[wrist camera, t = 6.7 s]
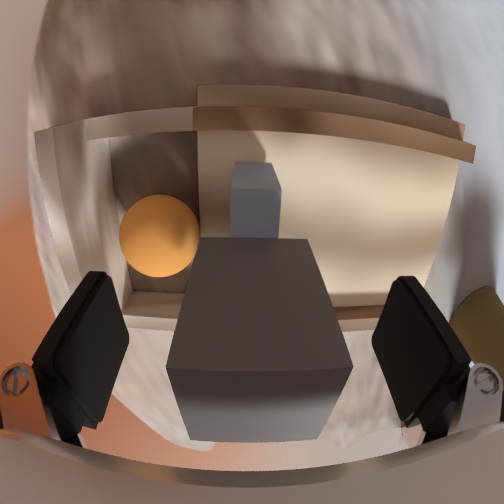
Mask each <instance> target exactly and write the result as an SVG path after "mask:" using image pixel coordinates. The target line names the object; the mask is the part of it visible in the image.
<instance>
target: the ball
mask: <svg viewBox="0 0 504 504" xmlns="http://www.w3.org/2000/svg"><path fill="white" fill-rule="evenodd" d="M199 240H200V232H199V225H198V222H197V219H196V217H195V215H194V213H193V212H192V211H191V209H190V208H189V207H188V206H187V205H186V204H185V203H183V202H182V201H181V200H179V199H177V198H175V197H172V196H168V195H151V196H148V197H145V198H143V199H141V200H139V201H137V202H136V203H135V204H133V205H132V206H131V207H130V209H129V210H128V211H127V212H126V214H125V216H124V217H123V220H122V222H121V226H120V231H119V242H120V247H121V250H122V253H123V255H124V257H125V258H126V260H127V261H128V263H129V264H130V265H131V266H132V267H133V268H134V269H136V270H137V271H139V272H140V273H142V274H145V275H148V276H152V277H166V276H171V275H173V274H176V273H178V272H179V271H181V270H183V269H184V268H185V267H186V266H187V265H188V264H189V263H190V262H191V260H192V259H193V258H194V256H195V254H196V251H197V247H198V244H199Z"/></svg>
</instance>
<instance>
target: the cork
mask: <svg viewBox="0 0 504 504" xmlns="http://www.w3.org/2000/svg"><path fill="white" fill-rule="evenodd" d="M449 324H450V326H451V328H452V329H453V331H454V332H455V334H456V335H457V337H458V338H459V340H460V341H461V343H462V345H463V346H464V348H465V349H466V351H467V353H468V354H469V356H470V358H471V359H472V361H473V363H474V364H475V365H476V364H478V363H483V364H487V365H489V366H491V367H493V368H494V369H495V370H496V371H497V372H498V374H499V375H500V377H501V380H502V384H503V391H504V305H503V303H502V302H501V300H500V299H499V297H498V295H497V294H496V292H495V291H494V289H493V288H491V287H483V288H480V289H478V290H477V291H475V292H473V293H472V294H471V295H469V296H468V297H467V298H466V299H465V300H464V301H463V302H462V303H461V304H460V305H459V307H458V308H457V309H456V311H455V312H454V314H453V316H452V318H451V320H450V322H449Z"/></svg>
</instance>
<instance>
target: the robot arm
mask: <svg viewBox="0 0 504 504" xmlns="http://www.w3.org/2000/svg"><path fill="white" fill-rule="evenodd" d="M128 344H129V333H128V330H127V327H126V324H125V321H124V318H123V315H122V312H121V308H120V305H119V302H118V298H117V295H116V291H115V288H114V284H113V280H112V278H111V277H110V276H108V275H107V273H106V272H104V271H89V272H88V273H87V274H86V275H85V277H84V278H83V280H82V281H81V282H80V284H79V285H78V287H77V288H76V289H75V291H74V292H73V294H72V295H71V297H70V298H69V300H68V301H67V303H66V304H65V306H64V307H63V309H62V310H61V312H60V313H59V315H58V316H57V318H56V319H55V321H54V323H53V324H52V326H51V327H50V329H49V331H48V332H47V334H46V335H45V337H44V339H43V341H42V342H41V344H40V345H39V347H38V349H37V351H36V352H35V354H34V356H33V358H32V361H33V362H34V363H33V365H32V366H30V365H29V364H26V363H24V362H23V363H22V362H17V363H14V364H11V365H10V366H8V367H7V368H6V369H5V370H4V371H3V372H2V374H1V375H0V504H504V391H503V384H502V380H501V377H500V375H499V374H498V372H497V371H496V370H495V369H494V368H493V367H491V366H489V365H487V364H483V363H478V364H476V365H474V366H473V367H472V368H471V369H470V367H469V364H470V362H471V361H472V359H471V358H470V356H469V354H468V353H467V351H466V349H465V348H464V346H463V345H462V343H461V341H460V340H459V338H458V337H457V335H456V334H455V332H454V331H453V329H452V328H451V326H450V324H449V323H448V322H447V320H446V319H445V317H444V316H443V314H442V313H441V311H440V310H439V308H438V307H437V306H436V304H435V303H434V301H433V300H432V298H431V297H430V296H429V294H428V293H427V292H426V290H425V289H424V288H423V286H422V285H421V284H420V282H419V281H418V280H417V278H416V277H415V276H399V277H398V278H397V279H396V280H394V281H393V282H392V285H391V288H390V291H389V293H388V296H387V299H386V302H385V305H384V307H383V310H382V313H381V315H380V318H379V321H378V323H377V326H376V328H375V331H374V333H373V336H372V346H373V349H374V351H375V354H376V356H377V359H378V361H379V364H380V367H381V369H382V372H383V374H384V377H385V380H386V382H387V385H388V387H389V390H390V393H391V396H392V398H393V401H394V404H395V407H396V410H397V412H398V415H399V418H400V420H401V421H404V423H405V426H406V428H410V427H413V426H417V425H419V424H420V423H421V426H422V431H421V434H420V436H419V439H418V441H417V444H416V446H415V447H412V448H409V449H405V450H402V451H398V452H394V453H391V454H387V455H383V456H378V457H374V458H369V459H364V460H360V461H355V462H349V463H343V464H337V465H330V466H323V467H316V468H306V469H296V470H295V469H294V470H280V471H244V472H243V471H214V470H201V469H189V468H180V467H172V466H165V465H158V464H152V463H146V462H140V461H135V460H130V459H126V458H121V457H117V456H113V455H109V454H104V453H100V452H96V451H93V450H89V449H88V448H87V446H86V444H85V442H84V440H83V437H82V435H81V433H80V432H81V429H82V426H85V427H89V428H92V429H96V427H97V424H98V422H101V421H102V420H103V418H104V415H105V411H106V407H107V405H108V402H109V398H110V396H111V393H112V389H113V387H114V384H115V381H116V378H117V375H118V372H119V369H120V366H121V363H122V361H123V358H124V355H125V352H126V350H127V347H128Z"/></svg>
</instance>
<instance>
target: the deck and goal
mask: <svg viewBox="0 0 504 504" xmlns="http://www.w3.org/2000/svg"><path fill="white" fill-rule="evenodd" d="M464 129H465V124H462V123H459V122H457V121H454V120H451V119H448V118H445V117H442V116H439V115H435V114H432V113H429V112H425V111H422V110H418V109H415V108H411V107H407V106H403V105H399V104H395V103H391V102H386V101H382V100H377V99H372V98H367V97H362V96H357V95H351V94H345V93H339V92H332V91H324V90H316V89H308V88H297V87H286V86H270V85H242V84H220V85H198V92H197V106H190V107H173V108H160V109H149V110H140V111H131V112H123V113H116V114H110V115H103V116H97V117H92V118H87V119H82V120H78V121H74V122H70V123H66V124H62V125H58V126H54V127H51V128H47V129H44V130H40V131H37V132H34V134H35V145H36V153H37V161H38V168H39V174H40V180H41V186H42V192H43V197H44V202H45V206H46V211H47V215H48V220H49V224H50V228H51V232H52V236H53V239H54V243H55V247H56V250H57V253H58V257H59V260H60V263H61V266H62V270H63V273H64V276H65V279H66V282H67V284H68V287H69V290H70V293H71V295H72V294H73V292H74V291H75V289H76V288H77V287H78V285H79V284H80V282H81V281H82V280H83V278H84V277H85V275H86V274H87V273H88V272H89V271H104V272H106V273H107V275H108V276H110V277H111V278H112V280H113V284H114V288H115V291H116V295H117V298H118V302H119V305H120V308H121V312H122V315H123V318H124V321H125V324H126V327H130V328H141V329H153V330H166V331H175V327H176V323H177V320H178V316H179V312H180V308H181V304H182V301H183V297H184V293H167V292H146V291H133V289H132V285H131V281H130V276H129V272H128V267H127V263H126V258H125V257H124V255H123V253H122V250H121V247H120V242H119V231H120V226H119V220H118V214H117V207H116V200H115V193H114V185H113V177H112V168H111V158H110V146H109V137H117V136H126V135H136V134H147V133H160V132H177V131H197V142H198V186H199V212H200V232H201V237H230V188H231V182H232V176H233V171H234V165H235V162H266V163H272V165H273V168H274V170H275V173H276V175H277V178H278V181H279V183H280V186H281V189H282V196H281V210H280V223H279V235H278V238H291V239H308V242H309V244H310V247H311V249H312V252H313V254H314V257H315V260H316V262H317V265H318V267H319V270H320V273H321V275H322V278H323V281H324V283H325V286H326V289H327V291H328V294H329V297H330V300H331V302H332V305H333V308H334V311H335V314H336V316H337V319H338V322H339V325H340V328H341V331H342V332H346V331H361V330H375V328H376V326H377V323H378V321H379V318H380V315H381V313H382V310H383V307H384V305H385V302H386V299H387V296H388V293H389V291H390V288H391V285H392V282H393V281H394V280H396V279H397V278H398V277H399V276H415V277H416V278H417V280H418V281H419V282H420V284H421V285H422V286H423V287H424V285H425V282H426V280H427V277H428V274H429V271H430V269H431V266H432V263H433V260H434V257H435V254H436V251H437V248H438V245H439V242H440V239H441V236H442V232H443V229H444V225H445V222H446V218H447V215H448V211H449V207H450V203H451V199H452V195H453V191H454V186H455V182H456V177H457V172H458V167H459V161H460V160H462V161H465V162H469V163H472V164H473V161H474V155H475V149H476V146H475V145H472V144H469V143H466V142H464V141H463V136H464Z"/></svg>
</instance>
